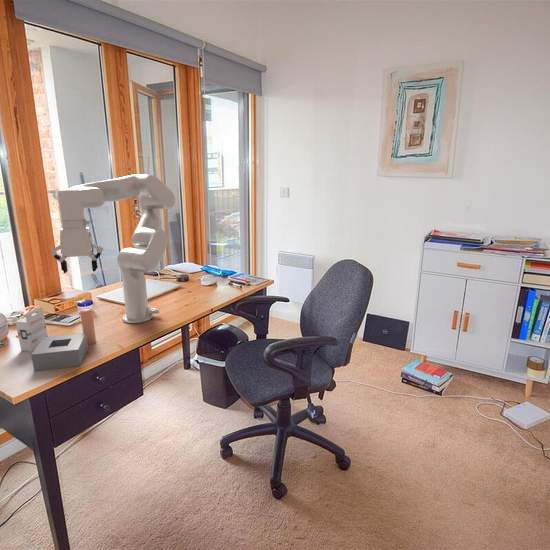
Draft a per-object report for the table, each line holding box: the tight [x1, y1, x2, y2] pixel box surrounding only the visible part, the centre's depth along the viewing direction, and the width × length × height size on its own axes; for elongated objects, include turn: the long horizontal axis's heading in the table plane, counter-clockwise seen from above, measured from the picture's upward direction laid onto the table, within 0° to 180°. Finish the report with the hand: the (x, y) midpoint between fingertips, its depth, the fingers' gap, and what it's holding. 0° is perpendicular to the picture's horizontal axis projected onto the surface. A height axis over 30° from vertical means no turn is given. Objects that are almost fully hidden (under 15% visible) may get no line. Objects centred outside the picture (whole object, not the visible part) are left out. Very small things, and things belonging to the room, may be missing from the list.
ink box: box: [15, 306, 49, 353], centre depth 145 cm, size 9×5×15 cm, turn 170°
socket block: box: [30, 332, 89, 372], centre depth 137 cm, size 14×14×6 cm
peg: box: [79, 308, 97, 345], centre depth 149 cm, size 4×4×13 cm
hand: (80, 271), depth 143 cm, fingers open, 9 cm apart
